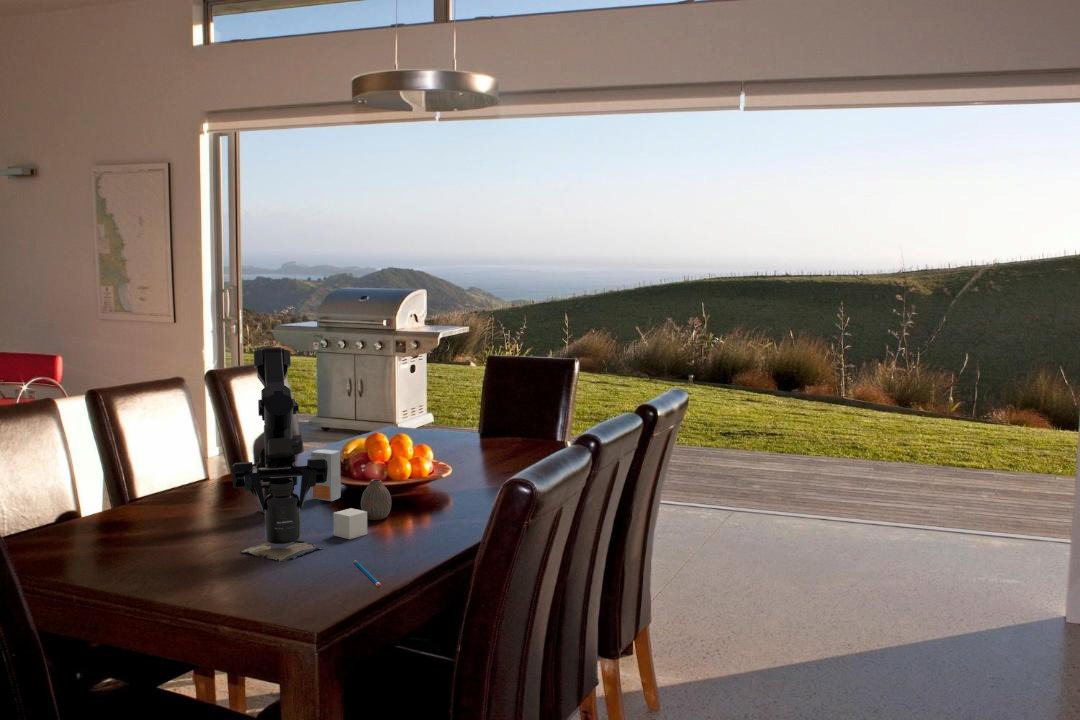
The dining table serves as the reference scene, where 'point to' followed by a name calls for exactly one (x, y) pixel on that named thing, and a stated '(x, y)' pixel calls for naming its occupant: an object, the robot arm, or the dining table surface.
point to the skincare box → (328, 476)
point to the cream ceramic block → (350, 523)
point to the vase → (376, 500)
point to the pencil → (367, 573)
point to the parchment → (280, 550)
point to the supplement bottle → (282, 513)
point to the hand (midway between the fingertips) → (282, 508)
